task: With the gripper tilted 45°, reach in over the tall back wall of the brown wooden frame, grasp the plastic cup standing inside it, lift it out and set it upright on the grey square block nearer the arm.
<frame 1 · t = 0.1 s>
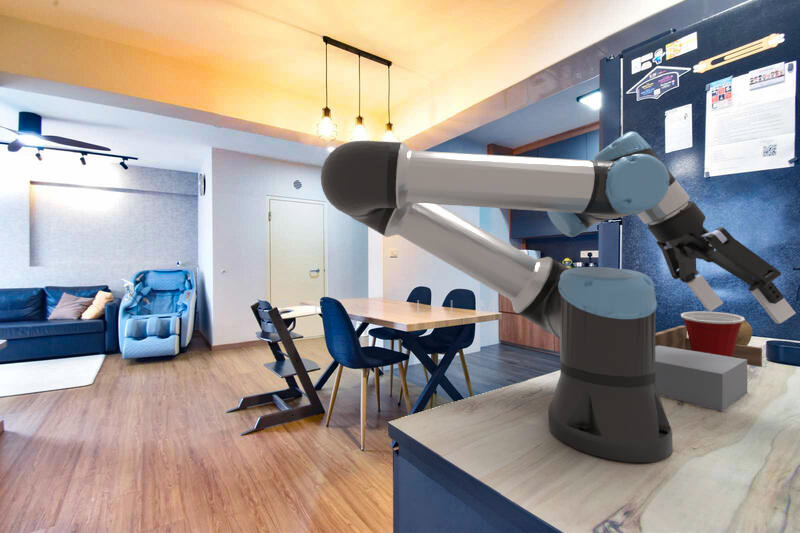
hand: (746, 312, 61), 15 cm above the table, tool tilted 35°, fingers open, 13 cm apart
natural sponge: (727, 354, 92), on the table
brown wooden frame: (711, 368, 80), on the table
grey square block: (685, 389, 68), on the table
plastic cup: (711, 369, 80), on the table
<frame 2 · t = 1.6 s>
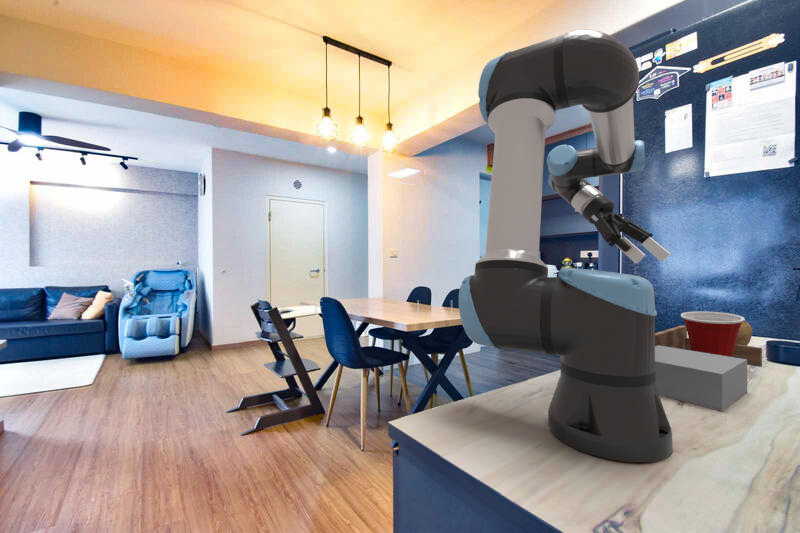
hand: (653, 258, 89), 25 cm above the table, tool tilted 45°, fingers open, 13 cm apart
nothing on the table moved.
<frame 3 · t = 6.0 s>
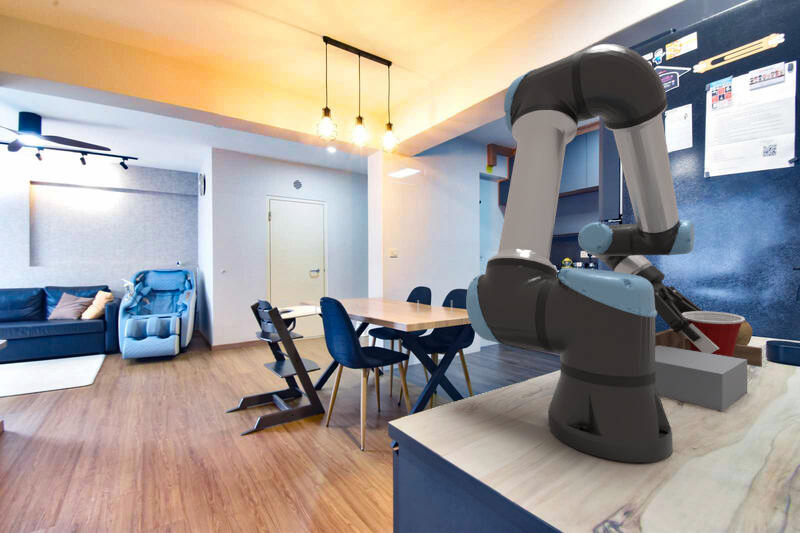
hand: (720, 348, 79), 5 cm above the table, tool tilted 45°, fingers closed on plastic cup, 9 cm apart
plastic cup: (711, 369, 80), on the table, touching gripper
everything else where it was.
when the fingers open (12 cm above the table, at t = 11.1 s): plastic cup moves 2 cm, point 6 cm above the table.
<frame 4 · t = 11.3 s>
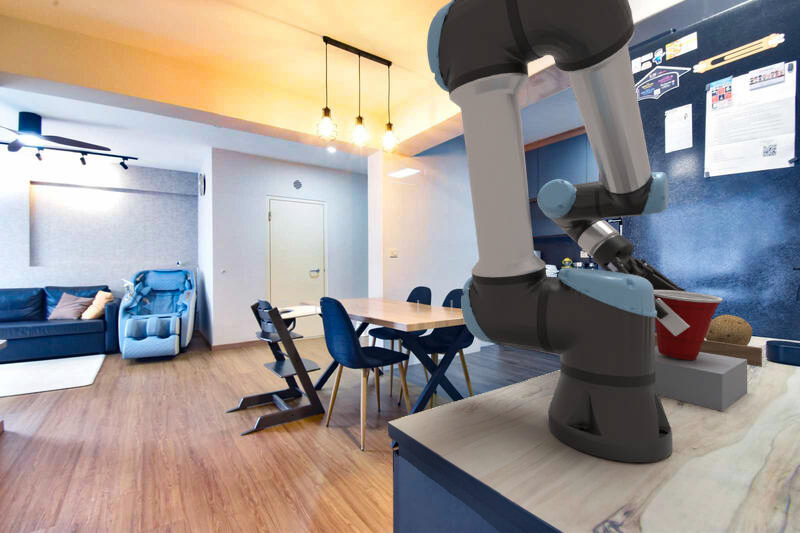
hand: (694, 327, 66), 12 cm above the table, tool tilted 45°, fingers open, 11 cm apart
plastic cup: (676, 356, 68), point 6 cm above the table, touching gripper
everything else where it was.
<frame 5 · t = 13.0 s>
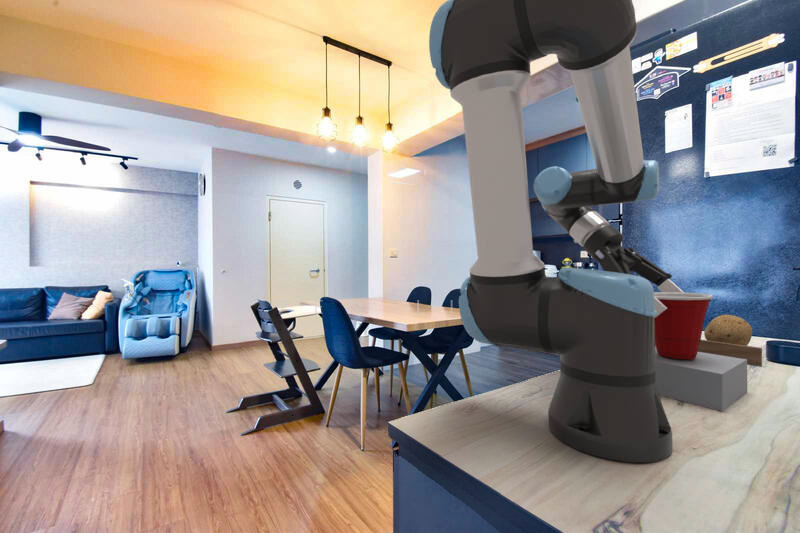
hand: (675, 310, 69), 15 cm above the table, tool tilted 45°, fingers open, 13 cm apart
plastic cup: (676, 357, 68), point 6 cm above the table, touching gripper, grey square block
everything else where it was.
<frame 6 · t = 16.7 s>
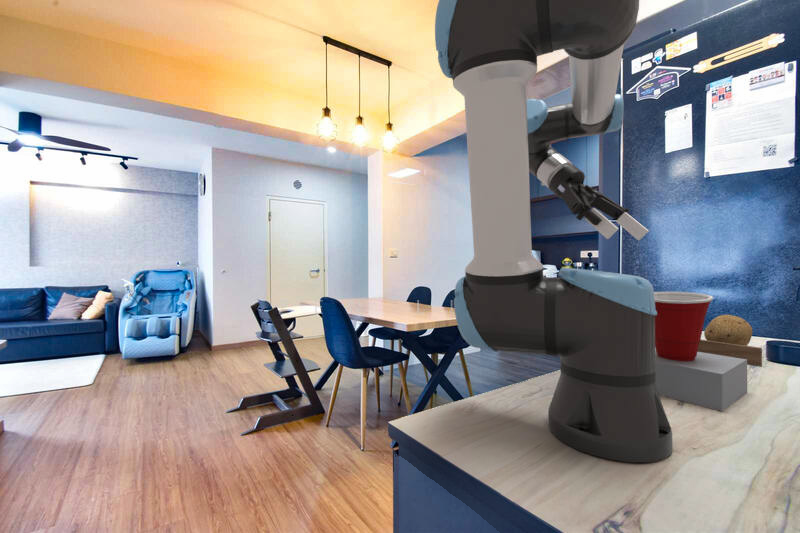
hand: (629, 234, 75), 30 cm above the table, tool tilted 45°, fingers open, 13 cm apart
plastic cup: (675, 358, 68), point 6 cm above the table, touching grey square block
everything else where it was.
at the end: plastic cup inside the target area on the grey square block (1.8 cm from its centre), point 5.8 cm above the grey square block's base; plastic cup tilted 0°; the gripper is holding nothing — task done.
